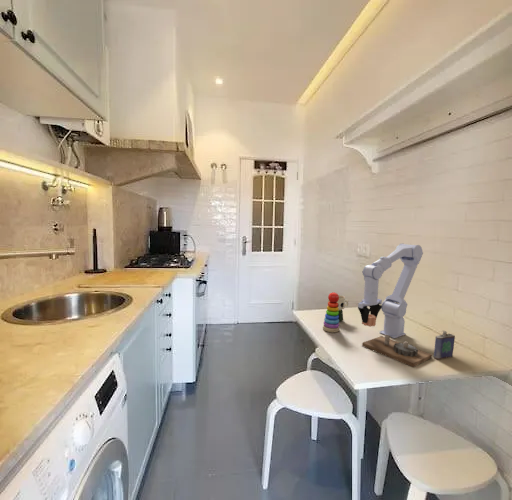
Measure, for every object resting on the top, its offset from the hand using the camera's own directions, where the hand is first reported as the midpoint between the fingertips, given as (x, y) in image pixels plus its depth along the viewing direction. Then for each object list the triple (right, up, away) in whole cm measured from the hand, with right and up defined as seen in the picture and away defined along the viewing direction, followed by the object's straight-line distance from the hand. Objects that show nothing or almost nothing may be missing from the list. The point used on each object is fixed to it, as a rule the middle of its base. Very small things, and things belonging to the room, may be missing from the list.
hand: (368, 321), depth 136 cm
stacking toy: (-14, -7, +11) cm, 20 cm away
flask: (+24, -11, -15) cm, 30 cm away
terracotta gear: (0, -1, 0) cm, 1 cm away
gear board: (+7, -10, -12) cm, 17 cm away
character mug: (-7, -6, +26) cm, 28 cm away
